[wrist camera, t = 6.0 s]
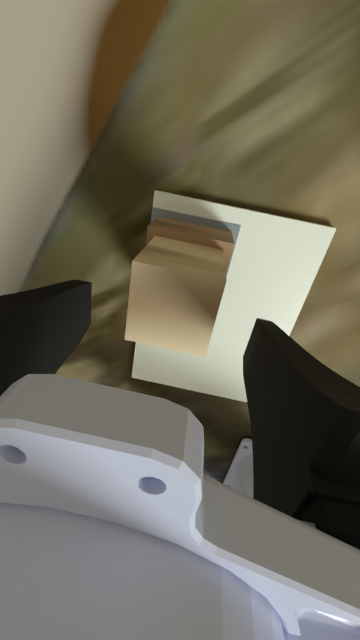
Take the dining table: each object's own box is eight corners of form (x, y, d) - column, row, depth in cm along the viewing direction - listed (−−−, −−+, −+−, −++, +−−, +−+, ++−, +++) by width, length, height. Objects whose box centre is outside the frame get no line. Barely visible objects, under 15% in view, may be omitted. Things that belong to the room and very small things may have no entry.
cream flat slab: (257, 400, 26) (258, 405, 26) (133, 373, 27) (131, 377, 26) (332, 226, 19) (336, 228, 18) (156, 190, 19) (154, 190, 18)
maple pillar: (207, 311, 18) (205, 357, 14) (146, 298, 18) (124, 339, 14) (223, 249, 16) (226, 280, 12) (155, 235, 16) (132, 260, 12)
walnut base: (213, 298, 21) (213, 320, 18) (149, 284, 21) (138, 303, 18) (231, 231, 19) (234, 243, 16) (158, 216, 19) (147, 225, 16)
